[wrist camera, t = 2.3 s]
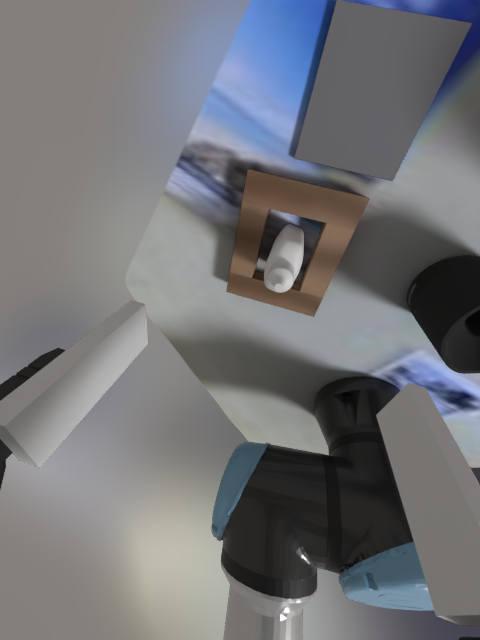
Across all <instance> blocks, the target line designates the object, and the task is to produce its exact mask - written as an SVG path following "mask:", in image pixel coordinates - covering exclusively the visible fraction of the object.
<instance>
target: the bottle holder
mask: <svg viewBox="0 0 480 640" xmlns="http://www.w3.org/2000/svg"><path fill="white" fill-rule="evenodd" d="M368 201H369V198H367V197H365V196H361V195H357V194H353V193H349V192H344V191H340V190H336V189H332V188H328V187H324V186H319V185H315V184H311V183H307V182H303V181H298V180H294V179H290V178H286V177H282V176H277V175H273V174H269V173H265V172H261V171H257V170H252V169H248V171H247V176H246V182H245V188H244V194H243V199H242V205H241V211H240V217H239V222H238V228H237V234H236V240H235V245H234V251H233V257H232V263H231V268H230V274H229V280H228V286H227V291H226V292H229V293H232V294H236V295H239V296H243V297H247V298H250V299H254V300H257V301H261V302H264V303H268V304H271V305H275V306H278V307H282V308H285V309H289V310H292V311H296V312H299V313H303V314H306V315H310V316H313V317H314V315H315V313H316V311H317V309H318V307H319V305H320V303H321V301H322V299H323V296H324V294H325V292H326V290H327V288H328V286H329V284H330V282H331V279H332V277H333V275H334V273H335V271H336V269H337V267H338V265H339V262H340V260H341V258H342V256H343V254H344V252H345V250H346V248H347V246H348V243H349V241H350V239H351V237H352V235H353V233H354V231H355V229H356V226H357V224H358V222H359V220H360V218H361V216H362V214H363V212H364V210H365V207H366V205H367V203H368ZM270 209H273V210H277V211H281V212H285V213H289V214H293V215H297V216H301V217H305V218H309V219H313V220H316V221H320V222H323V225H322V227H321V230H320V233H319V235H318V238H317V240H316V243H315V246H314V248H313V251H312V253H311V256H310V259H309V261H308V264H307V266H306V269H305V272H304V274H303V277H302V279H301V282H300V283H296V282H293V285H292V287H291V288H290V289H289V290H287V291H285V292H281V293H279V292H275V291H273V290H270V289H268V288H267V287H266V286H265V284H264V273H260V272H256V271H255V269H256V265H257V261H258V257H259V253H260V249H261V245H262V241H263V237H264V233H265V228H266V224H267V220H268V216H269V212H270Z"/></svg>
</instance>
